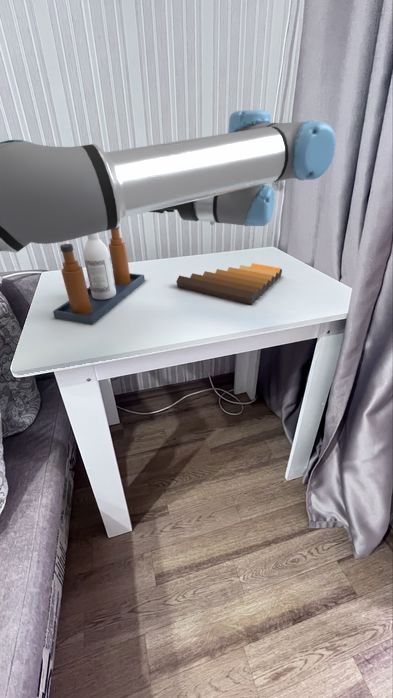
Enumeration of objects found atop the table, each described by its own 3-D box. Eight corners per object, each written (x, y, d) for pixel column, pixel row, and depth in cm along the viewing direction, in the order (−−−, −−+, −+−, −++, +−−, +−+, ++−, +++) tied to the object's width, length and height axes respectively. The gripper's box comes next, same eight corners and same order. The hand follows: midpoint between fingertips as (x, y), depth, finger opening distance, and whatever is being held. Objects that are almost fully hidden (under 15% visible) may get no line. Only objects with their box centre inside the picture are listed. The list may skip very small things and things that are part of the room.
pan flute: (176, 287, 100) (250, 305, 89) (176, 277, 98) (251, 294, 87) (215, 263, 118) (281, 276, 107) (215, 254, 116) (282, 266, 105)
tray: (92, 324, 82) (90, 317, 81) (54, 318, 85) (52, 311, 84) (144, 280, 105) (144, 274, 104) (113, 277, 108) (112, 271, 107)
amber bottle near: (75, 318, 83) (57, 249, 73) (70, 311, 87) (52, 244, 77) (94, 313, 85) (79, 246, 75) (88, 306, 89) (74, 241, 79)
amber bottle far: (118, 286, 101) (108, 226, 91) (112, 281, 104) (102, 223, 94) (132, 282, 103) (125, 224, 93) (127, 277, 106) (119, 221, 96)
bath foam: (103, 289, 99) (90, 220, 88) (121, 293, 96) (110, 223, 85) (87, 298, 94) (71, 226, 82) (105, 302, 91) (91, 229, 80)
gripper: (178, 232, 63) (86, 223, 71) (217, 211, 79) (138, 205, 87) (177, 190, 59) (79, 185, 67) (218, 177, 75) (135, 174, 83)
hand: (113, 197), depth 77 cm, fingers open, 9 cm apart
